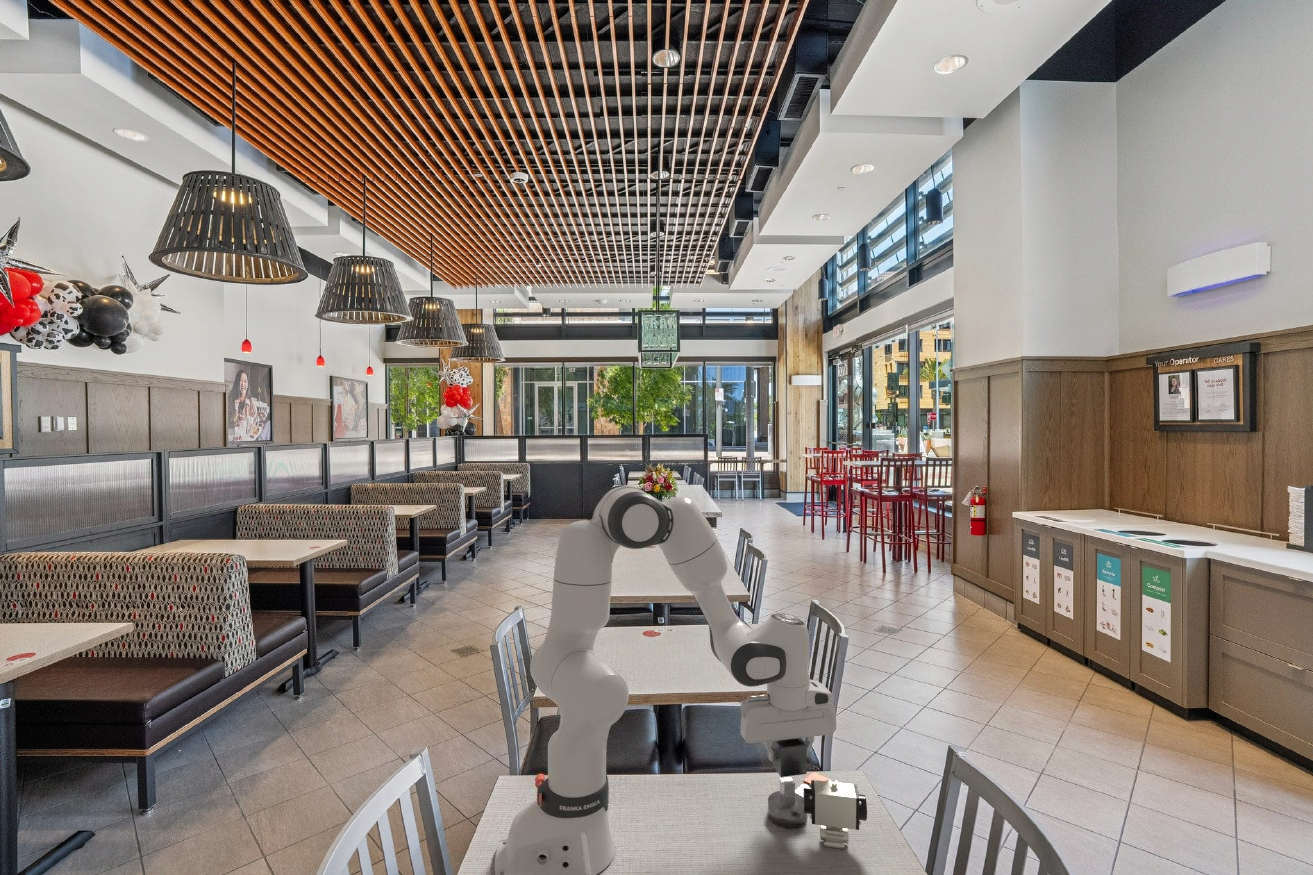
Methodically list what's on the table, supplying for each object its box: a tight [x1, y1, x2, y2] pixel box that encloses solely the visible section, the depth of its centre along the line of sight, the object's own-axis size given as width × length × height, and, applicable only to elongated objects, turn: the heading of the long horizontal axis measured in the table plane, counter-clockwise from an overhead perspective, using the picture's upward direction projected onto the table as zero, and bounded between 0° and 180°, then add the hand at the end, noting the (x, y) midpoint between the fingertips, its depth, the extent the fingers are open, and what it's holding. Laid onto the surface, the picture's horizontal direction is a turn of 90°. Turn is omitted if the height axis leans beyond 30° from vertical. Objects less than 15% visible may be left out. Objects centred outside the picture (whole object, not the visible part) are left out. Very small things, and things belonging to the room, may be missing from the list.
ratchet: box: [767, 772, 830, 830], centre depth 132 cm, size 18×8×8 cm, turn 136°
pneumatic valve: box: [803, 779, 868, 850], centre depth 120 cm, size 6×12×12 cm, turn 78°
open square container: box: [770, 738, 808, 778], centre depth 128 cm, size 6×6×6 cm
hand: (788, 757), depth 128 cm, fingers closed on open square container, 6 cm apart
